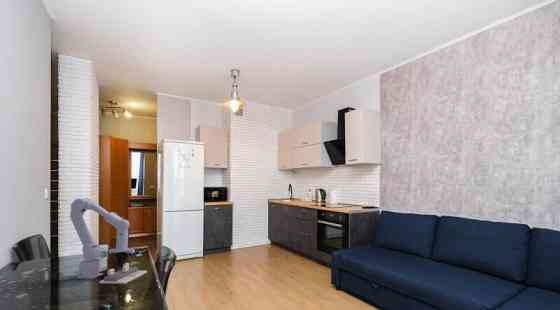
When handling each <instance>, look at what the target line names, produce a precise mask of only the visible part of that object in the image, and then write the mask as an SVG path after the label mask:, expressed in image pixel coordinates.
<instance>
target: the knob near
mask: <svg viewBox="0 0 560 310" xmlns="http://www.w3.org/2000/svg"><path fill="white" fill-rule="evenodd" d="M114 273H115V268H110V269H107V276H108V275H112V274H114Z"/></svg>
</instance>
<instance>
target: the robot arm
mask: <svg viewBox="0 0 560 310" xmlns="http://www.w3.org/2000/svg"><path fill="white" fill-rule="evenodd" d="M89 210H90V211H93V212H94V213H97V214H98V215H99V216H102V217H104V221H105V222H107V223H109V224H110V225H111V226H113V227H114V228H115V230H116V246H115V248H110V249H108V254H114V257H115V259H116V261H117V265H118V267H123V264H125V261H126V258H127V256H128V254H134V253H135V248H129V247H128V245H129V244H128V243H129V228H130V223H131V222H130V221H129V220H128V219H125V218H124V217H121V216H119V215H118V214H117V212H113V211H111V212H109V211H107V210H106V209H105V208H103V207H102V206H100V204H98V203H96V202H95V201H94V200H91V199H90V198H89V197H88V198H87V197H86V198H85V197H84V198H76V199H74V200H72V203H71V204H70V213H69V214H70V215H69V217H70V220H71V223H72V224H73V227H74V229H75V231H76V234H77V235H78V238H79V240H80V243H81V244H82V249H81V251H82V257H83V260H82V261H81V262H80V263H79V265H78V276H77V277H76V278H77V279H82V280H83V279H90V280H91V279H95V278H97V277H100V276H102V275H104V273H103V272H102V273H100V272H99V270H100V255H101V254H102V249H101V247H99V244H98V243H97V242H96V241H94V237H93V236H92V234H91V231H90V229H89V227H88V226H87V223H86V221H85V218H84V214H85V213H86V211H89Z"/></svg>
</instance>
